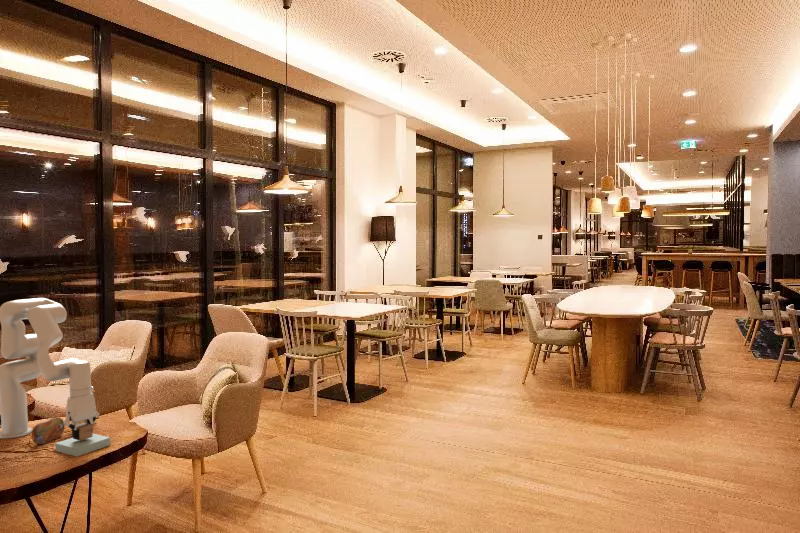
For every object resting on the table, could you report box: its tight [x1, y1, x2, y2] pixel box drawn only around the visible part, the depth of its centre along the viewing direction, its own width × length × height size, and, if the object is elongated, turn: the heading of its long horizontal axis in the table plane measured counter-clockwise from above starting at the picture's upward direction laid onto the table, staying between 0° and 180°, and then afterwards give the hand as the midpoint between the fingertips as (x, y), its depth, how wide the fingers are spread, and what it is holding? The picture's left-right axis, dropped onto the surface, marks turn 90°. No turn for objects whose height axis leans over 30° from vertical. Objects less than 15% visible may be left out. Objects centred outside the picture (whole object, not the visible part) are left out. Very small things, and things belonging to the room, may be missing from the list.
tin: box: [31, 417, 65, 445], centre depth 242 cm, size 15×3×8 cm, turn 168°
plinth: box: [54, 432, 111, 457], centre depth 233 cm, size 14×14×3 cm
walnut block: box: [77, 423, 94, 441], centre depth 232 cm, size 5×5×5 cm
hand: (82, 436), depth 233 cm, fingers closed on walnut block, 4 cm apart
